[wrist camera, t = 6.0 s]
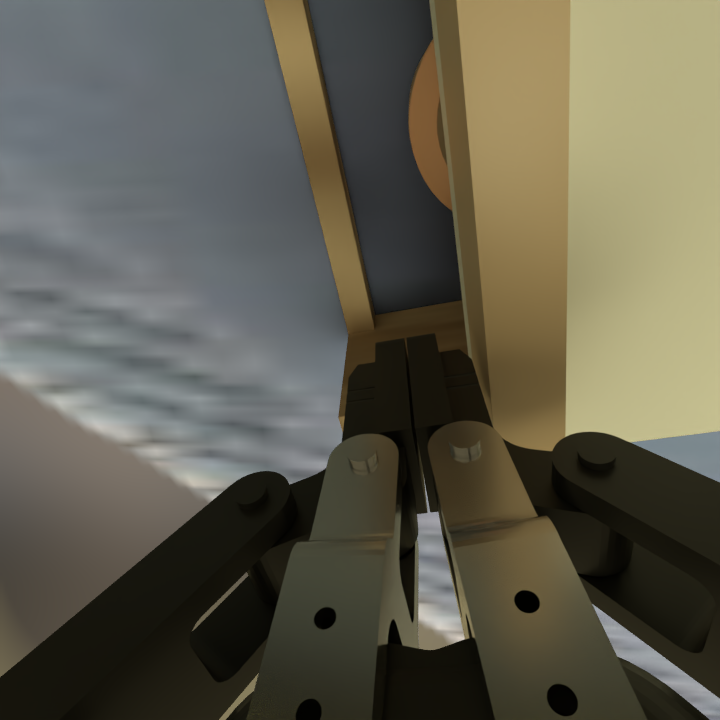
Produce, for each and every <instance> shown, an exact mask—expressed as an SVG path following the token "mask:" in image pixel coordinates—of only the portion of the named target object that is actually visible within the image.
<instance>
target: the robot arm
mask: <svg viewBox="0 0 720 720" xmlns="http://www.w3.org/2000/svg"><path fill="white" fill-rule="evenodd" d="M406 340H407V350H406V345H405V340H404V338H401V339H394V340H388V341H382V342H376V343H375V362H372V363H366V364H359V365H357V367H356V368H355V369H354V371H353V372H352V373H351V375H350V376H349V378H348V388H347V392H348V393H347V398H346V408H345V418H344V427H343V437H342V443H340V444H339V445H338V446H337V447H336V448H335V449H334V450H333V451H332V453H331V454H330V456H329V459H328V463H327V467H326V469H324V470H323V471H321V472H319V473H318V474H316V475H313V476H311V477H309V478H306V479H303V480H301V481H298V482H296V483H293V484H290V485H289V483H288V481H287V479H286V478H285V477H284V476H282V475H281V474H279V473H276V472H271V471H262V472H256V473H252V474H249V475H247V476H245V477H243V478H241V479H239V480H237V481H236V482H235V483H233V484H232V485H231V486H229V487H228V488H227V489H226V490H225V491H223V492H222V493H221V494H220V495H219V496H217V497H216V498H215V499H214V500H213V501H211V502H210V503H209V504H208V505H207V506H205V507H204V508H203V509H202V510H201V511H199V512H198V513H197V514H196V515H195V516H193V517H192V518H191V519H190V520H189V521H187V522H186V523H185V524H184V525H183V526H182V527H180V528H179V529H178V530H177V531H176V532H174V533H173V534H172V535H171V536H169V537H168V538H167V539H166V540H165V541H163V542H162V543H161V544H160V545H159V546H157V547H156V548H155V549H154V550H153V551H152V552H150V553H149V554H148V555H147V556H145V557H144V558H143V559H142V560H141V561H139V562H138V563H137V564H136V565H135V566H133V567H132V568H131V569H130V570H129V571H127V572H126V573H125V574H124V575H123V576H121V577H120V578H119V579H118V580H117V581H115V582H114V583H113V584H112V585H111V586H109V587H108V588H107V589H106V590H105V591H103V592H102V593H101V594H100V595H99V596H97V597H96V598H95V599H94V600H93V601H91V602H90V603H89V604H88V605H87V606H85V607H84V608H83V609H82V610H81V611H79V612H78V613H77V614H76V615H75V616H74V617H72V618H71V619H70V620H69V621H67V622H66V623H65V624H64V625H63V626H61V627H60V628H59V629H58V630H57V631H55V632H54V633H53V634H52V635H51V636H49V637H48V638H47V639H46V640H45V641H43V642H42V643H41V644H40V645H39V646H37V647H36V648H35V649H34V650H33V651H31V652H30V653H29V654H28V655H27V656H25V657H24V658H23V659H22V660H21V661H20V662H18V663H17V664H16V665H15V666H13V667H12V668H11V669H10V670H8V671H7V672H6V673H5V674H4V675H3V676H1V677H0V720H219V719H220V717H221V716H222V715H223V714H224V713H225V712H226V710H227V709H228V708H229V707H230V706H231V705H232V703H233V702H234V701H235V700H236V699H237V698H238V696H239V695H240V694H241V693H242V692H243V691H244V689H245V688H246V687H247V686H248V685H249V683H250V682H251V681H252V680H253V679H254V678H255V676H256V675H257V674H258V673H259V674H258V678H257V681H256V685H255V689H254V691H253V692H252V693H251V694H250V695H248V696H247V697H246V698H245V700H243V702H241V703H240V704H239V705H238V706H237V707H236V708H235V710H234V711H233V712H232V713H231V714H230V716H229V717H228V718H227V719H226V720H709V719H708V718H707V717H706V716H705V715H703V714H702V713H701V712H700V711H699V710H697V709H696V708H695V707H694V706H692V705H691V704H690V703H689V702H688V701H686V700H685V699H684V698H683V697H682V696H680V695H679V694H678V693H676V692H675V691H674V690H673V689H671V688H670V687H669V686H667V685H666V684H665V683H663V682H662V681H660V680H659V679H657V678H656V677H654V676H653V675H651V674H650V673H648V672H647V671H645V670H643V669H641V668H639V667H638V666H636V665H634V664H632V663H630V662H628V661H626V660H624V659H622V658H619V657H617V655H616V653H615V651H614V649H613V647H612V645H611V643H610V641H609V639H608V637H607V634H606V632H605V630H604V628H603V626H602V624H601V622H600V620H599V618H598V616H597V614H596V612H595V609H594V607H593V605H592V604H594V605H595V606H596V607H598V608H599V609H600V610H602V611H603V612H604V613H606V614H607V615H608V616H610V617H611V618H612V619H614V620H615V621H616V622H618V623H619V624H621V625H622V626H623V627H625V628H626V629H627V630H629V631H630V632H631V633H633V634H634V635H635V636H637V637H638V638H639V639H641V640H642V641H643V642H645V643H646V644H647V645H649V646H650V647H651V648H653V649H654V650H655V651H657V652H658V653H659V654H661V655H662V656H664V657H665V658H666V659H668V660H669V661H670V662H672V663H673V664H674V665H676V666H677V667H678V668H680V669H681V670H682V671H684V672H685V673H686V674H688V675H689V676H690V677H692V678H693V679H694V680H696V681H697V682H698V683H700V684H701V685H703V686H704V687H705V688H707V689H708V690H709V691H711V692H712V693H713V694H715V695H716V696H717V697H719V698H720V483H719V482H717V481H715V480H713V479H710V478H708V477H706V476H704V475H701V474H699V473H697V472H695V471H692V470H690V469H688V468H686V467H684V466H681V465H679V464H677V463H675V462H672V461H670V460H668V459H666V458H663V457H661V456H659V455H657V454H654V453H652V452H650V451H648V450H645V449H643V448H641V447H639V446H637V445H634V444H632V443H630V442H628V441H625V440H623V439H621V438H618V437H616V436H613V435H610V434H606V433H600V432H580V433H575V434H571V435H569V436H566V437H564V438H563V439H561V440H560V441H559V442H558V443H557V444H556V445H555V447H554V448H553V451H545V450H535V449H528V448H523V447H520V446H517V445H514V444H512V443H510V442H508V441H506V440H505V439H503V438H502V437H501V435H500V434H499V433H498V432H497V431H496V430H495V429H494V427H493V425H492V422H491V419H490V416H489V413H488V409H487V406H486V403H485V400H484V397H483V394H482V390H481V387H480V385H479V381H478V378H477V374H476V371H475V368H474V365H473V362H472V359H471V358H470V357H469V356H467V355H466V354H465V353H464V352H462V351H461V350H460V349H456V350H450V351H443V352H439V350H438V345H437V340H436V335H435V333H431V334H425V335H419V336H413V337H406ZM407 351H408V356H407ZM408 361H409V362H408ZM423 474H424V476H423ZM424 480H425V485H426V491H427V496H428V501H429V507H430V512H439V518H440V524H441V529H442V535H443V541H444V547H445V551H446V556H447V560H448V565H449V569H450V573H451V578H452V582H453V587H454V591H455V596H456V600H457V605H458V609H459V613H460V618H461V622H462V627H463V631H464V636H465V640H462V641H459V642H457V643H454V644H451V645H448V646H445V647H443V648H440V649H436V650H423V649H419V640H418V574H419V547H418V541H417V536H418V522H417V514H421V513H427V504H426V495H425V485H424ZM246 572H247V573H248V575H249V576H248V577H247V578H246V579H245V580H244V581H243V582H242V583H241V584H240V585H239V586H238V587H237V588H236V589H235V590H234V591H233V592H232V593H231V594H230V595H229V596H228V597H227V598H226V599H225V600H224V601H223V602H222V603H221V604H220V605H219V606H218V607H217V608H216V609H215V610H214V611H213V612H212V613H211V614H210V615H209V616H208V617H207V618H206V619H205V620H204V621H203V622H202V623H201V624H200V625H199V626H198V627H197V628H196V629H195V630H194V631H192V630H193V628H194V626H195V624H196V622H197V621H198V620H199V619H200V617H201V616H202V615H203V614H204V613H205V612H206V611H207V610H208V609H209V608H210V607H211V606H212V605H214V604H215V602H217V600H219V599H220V598H221V596H222V595H224V594H225V593H226V592H227V591H228V590H229V589H230V588H231V587H232V586H233V585H234V584H235V583H236V582H237V581H238V580H239V579H240V578H241V577H242V576H243V575H244V574H245V573H246Z"/></svg>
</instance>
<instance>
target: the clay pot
mask: <svg viewBox="0 0 720 720" xmlns="http://www.w3.org/2000/svg"><path fill="white" fill-rule="evenodd" d="M408 126H409V137H410V142H411V147H412V151H413V154H414V157H415V160H416V163H417V166H418V168H419V170H420V172H421V174H422V176H423V178H424V180H425V182H426V184H427V185H428V187H429V188H430V189H431V191H432V192H433V194H434V195H435V196H436V197H437V198H438V199H439V200H440V201H441V202H442V203H443V204H444V205H445V206H447V207H448V208H449V209H450V210H451V211H452V202H451V193H450V184H449V175H448V166H447V157H446V148H445V139H444V130H443V121H442V112H441V103H440V93H439V84H438V75H437V66H436V57H435V48H434V39H432V41H431V42H430V44H429V46H428V48H427V50H426V51H425V53H424V55H423V56H422V58H421V60H420V62H419V64H418V66H417V68H416V71H415V73H414V76H413V80H412V83H411V88H410V95H409V113H408Z"/></svg>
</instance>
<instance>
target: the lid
mask: <svg viewBox="0 0 720 720" xmlns="http://www.w3.org/2000/svg"><path fill="white" fill-rule="evenodd" d="M429 3H430V12H431V21H432V30H433V39H434V48H435V57H436V66H437V75H438V84H439V93H440V103H441V112H442V121H443V130H444V139H445V148H446V157H447V166H448V175H449V184H450V193H451V202H452V212H453V221H454V230H455V239H456V248H457V257H458V266H459V275H460V284H461V293H462V302H463V311H464V320H465V330H466V339H467V348H468V356H469V357H470V358H471V359H472V362H473V365H474V368H475V371H476V374H477V378H478V381H479V385H480V387H481V390H482V394H483V397H484V400H485V403H486V406H487V409H488V413H489V416H490V419H491V422H492V425H493V427H494V429H495V430H496V431H497V432H498V433H499V434H500V435H501V437H502V438H503V439H505V440H506V441H508V442H510V443H512V444H514V445H517V446H520V447H523V448H528V449H535V450H545V451H553V448H554V447H555V445H556V444H557V443H558V442H559V441H560V440H561V439H563V438H564V437H566V436H569V435H571V434H575V433H580V432H600V433H606V434H610V435H613V436H616V437H618V438H621V439H623V440H625V441H628V442H636V441H644V440H651V439H659V438H667V437H675V436H683V435H691V434H699V433H707V432H715V431H720V0H429Z"/></svg>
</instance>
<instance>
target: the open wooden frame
mask: <svg viewBox="0 0 720 720" xmlns="http://www.w3.org/2000/svg"><path fill="white" fill-rule="evenodd" d="M264 1H265V5H266V9H267V13H268V17H269V21H270V25H271V29H272V33H273V37H274V40H275V44H276V48H277V52H278V56H279V60H280V64H281V68H282V72H283V76H284V80H285V84H286V88H287V92H288V96H289V100H290V104H291V108H292V112H293V116H294V120H295V124H296V128H297V132H298V136H299V140H300V144H301V148H302V152H303V156H304V159H305V163H306V167H307V171H308V175H309V179H310V183H311V187H312V191H313V195H314V199H315V203H316V207H317V211H318V215H319V219H320V223H321V227H322V231H323V235H324V239H325V243H326V247H327V251H328V255H329V259H330V263H331V267H332V271H333V275H334V278H335V282H336V286H337V290H338V294H339V298H340V302H341V306H342V310H343V314H344V318H345V322H346V326H347V330H348V334H349V335H348V343H347V351H346V360H345V368H344V376H343V384H342V392H341V400H340V409H339V421H340V424H341V428H342V431H343V427H344V418H345V408H346V398H347V393H348V392H347V388H348V378H349V376H350V375H351V373H352V372H353V371H354V369H355V368H356V367H357V365H359V364H366V363H372V362H375V343H376V342H382V341H388V340H394V339H401V338H404V340H405V345H406V350H407V340H406V337H413V336H419V335H425V334H431V333H435V335H436V340H437V345H438V350H439V352H443V351H450V350H456V349H460V350H461V351H462V352H464V353H465V354H466V355H467V356H468V348H467V339H466V330H465V320H464V311H463V302H462V300H460V301H454V302H448V303H442V304H437V305H431V306H425V307H419V308H414V309H408V310H402V311H396V312H390V313H385V314H379V315H375V312H374V308H373V303H372V298H371V294H370V289H369V284H368V280H367V275H366V270H365V266H364V261H363V257H362V252H361V247H360V243H359V238H358V233H357V229H356V224H355V219H354V215H353V210H352V205H351V201H350V196H349V191H348V187H347V182H346V177H345V173H344V168H343V164H342V159H341V154H340V150H339V145H338V140H337V136H336V131H335V126H334V122H333V117H332V112H331V108H330V103H329V98H328V94H327V89H326V84H325V80H324V75H323V71H322V66H321V61H320V57H319V52H318V47H317V43H316V38H315V33H314V29H313V24H312V19H311V15H310V10H309V5H308V1H307V0H264ZM407 356H408V351H407ZM408 362H409V361H408Z"/></svg>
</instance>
